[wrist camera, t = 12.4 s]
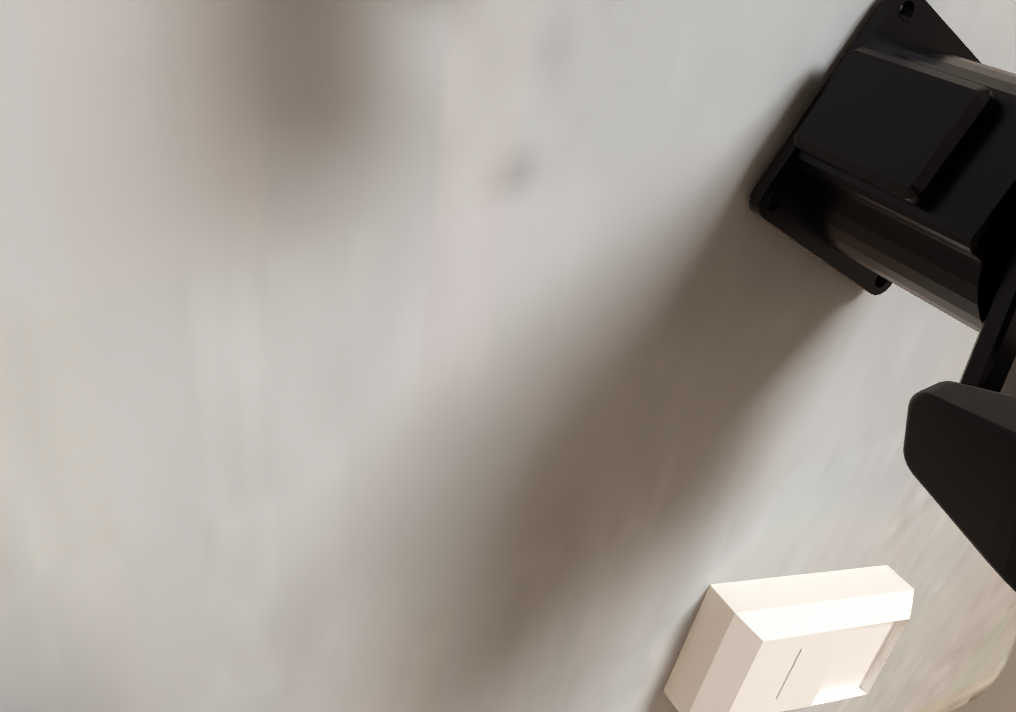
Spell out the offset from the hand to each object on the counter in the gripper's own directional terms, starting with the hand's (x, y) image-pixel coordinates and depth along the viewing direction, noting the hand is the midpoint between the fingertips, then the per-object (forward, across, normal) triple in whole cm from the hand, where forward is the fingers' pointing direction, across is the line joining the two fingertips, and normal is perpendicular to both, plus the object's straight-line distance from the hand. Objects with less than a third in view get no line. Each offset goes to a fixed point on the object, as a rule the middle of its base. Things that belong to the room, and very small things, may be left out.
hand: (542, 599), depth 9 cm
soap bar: (+14, -13, +23) cm, 30 cm away
